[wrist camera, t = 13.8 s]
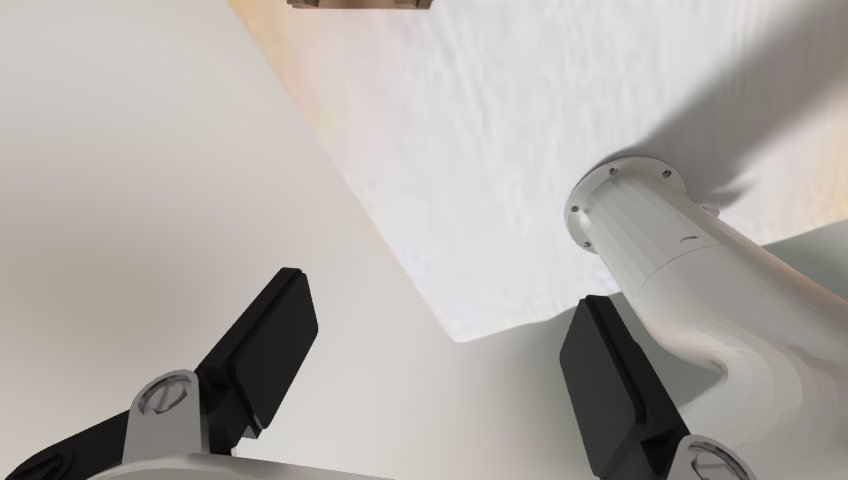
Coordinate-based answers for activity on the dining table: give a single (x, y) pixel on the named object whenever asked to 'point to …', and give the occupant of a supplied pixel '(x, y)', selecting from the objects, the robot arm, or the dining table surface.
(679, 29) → the dining table surface
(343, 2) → the can holder
